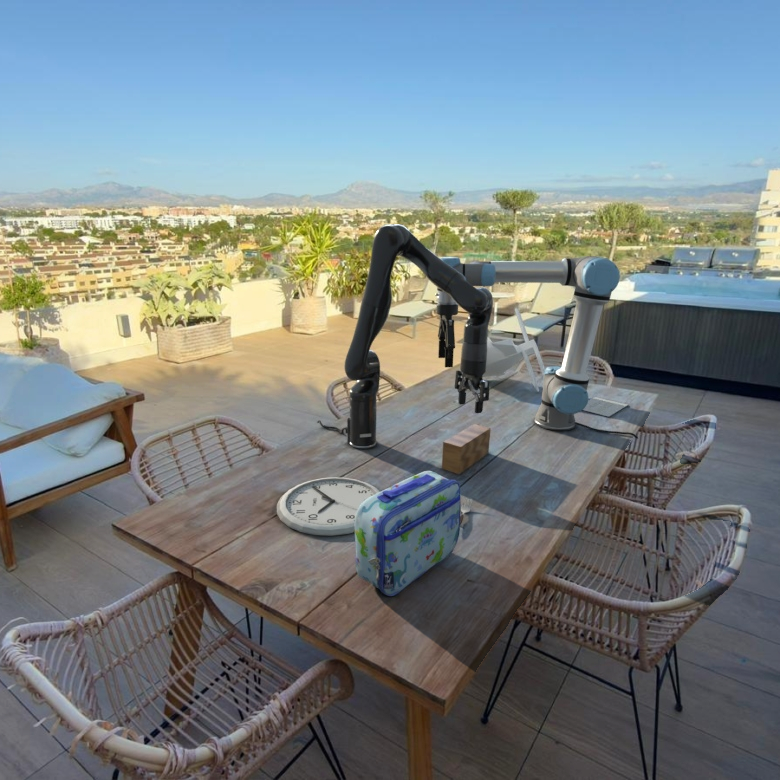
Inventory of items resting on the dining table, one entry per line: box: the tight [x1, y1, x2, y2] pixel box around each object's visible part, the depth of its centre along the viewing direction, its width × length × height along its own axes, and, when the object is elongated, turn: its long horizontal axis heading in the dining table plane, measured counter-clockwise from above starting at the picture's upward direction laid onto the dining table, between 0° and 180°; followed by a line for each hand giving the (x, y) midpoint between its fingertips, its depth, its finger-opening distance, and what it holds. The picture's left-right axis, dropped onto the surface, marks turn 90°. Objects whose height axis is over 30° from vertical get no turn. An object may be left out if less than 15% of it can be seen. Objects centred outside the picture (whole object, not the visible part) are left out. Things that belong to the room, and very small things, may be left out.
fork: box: [460, 497, 473, 526], centre depth 137 cm, size 3×16×2 cm, turn 160°
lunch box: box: [354, 470, 462, 597], centre depth 113 cm, size 26×11×21 cm, turn 134°
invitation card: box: [582, 396, 629, 418], centre depth 226 cm, size 21×1×15 cm
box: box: [441, 423, 491, 475], centre depth 170 cm, size 20×6×9 cm, turn 143°
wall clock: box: [276, 476, 382, 537], centre depth 142 cm, size 30×2×30 cm
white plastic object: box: [482, 307, 546, 392], centre depth 256 cm, size 37×45×31 cm
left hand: (469, 408), depth 159 cm, fingers open, 8 cm apart
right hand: (445, 362), depth 188 cm, fingers open, 13 cm apart
